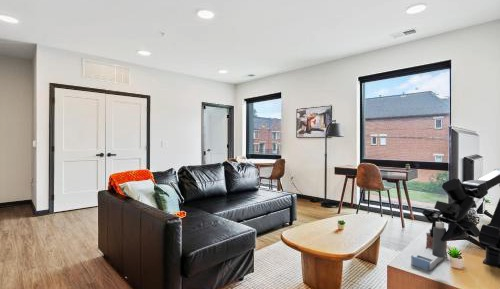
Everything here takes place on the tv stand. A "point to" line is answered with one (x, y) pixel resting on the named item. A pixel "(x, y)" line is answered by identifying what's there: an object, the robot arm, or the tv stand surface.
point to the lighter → (430, 242)
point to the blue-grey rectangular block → (425, 260)
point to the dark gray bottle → (439, 240)
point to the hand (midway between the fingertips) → (436, 238)
